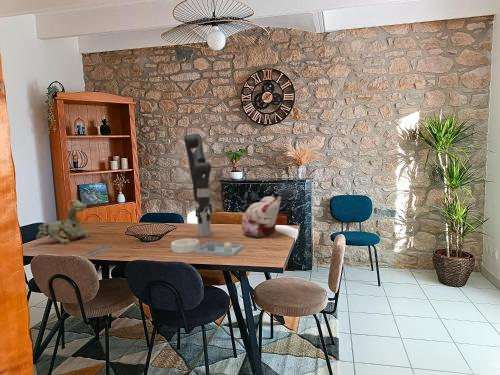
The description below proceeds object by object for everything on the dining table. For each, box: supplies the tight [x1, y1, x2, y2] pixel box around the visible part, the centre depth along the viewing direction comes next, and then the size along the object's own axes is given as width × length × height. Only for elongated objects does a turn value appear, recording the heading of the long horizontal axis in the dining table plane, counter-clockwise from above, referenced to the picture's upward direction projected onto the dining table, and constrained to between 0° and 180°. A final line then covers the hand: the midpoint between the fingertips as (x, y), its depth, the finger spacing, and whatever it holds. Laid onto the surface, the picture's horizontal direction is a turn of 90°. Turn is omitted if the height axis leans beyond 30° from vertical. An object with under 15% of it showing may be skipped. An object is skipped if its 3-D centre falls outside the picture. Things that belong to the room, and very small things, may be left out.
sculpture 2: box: [241, 195, 282, 238], centre depth 262 cm, size 31×29×30 cm
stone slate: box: [206, 240, 216, 251], centre depth 224 cm, size 4×4×5 cm
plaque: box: [81, 245, 116, 259], centre depth 227 cm, size 33×10×1 cm, turn 163°
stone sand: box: [223, 241, 232, 252], centre depth 221 cm, size 4×4×5 cm
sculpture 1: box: [35, 198, 91, 245], centre depth 257 cm, size 29×27×30 cm
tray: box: [194, 242, 244, 257], centre depth 223 cm, size 18×24×3 cm
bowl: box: [170, 238, 201, 254], centre depth 227 cm, size 16×16×5 cm
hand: (204, 222), depth 222 cm, fingers open, 8 cm apart
